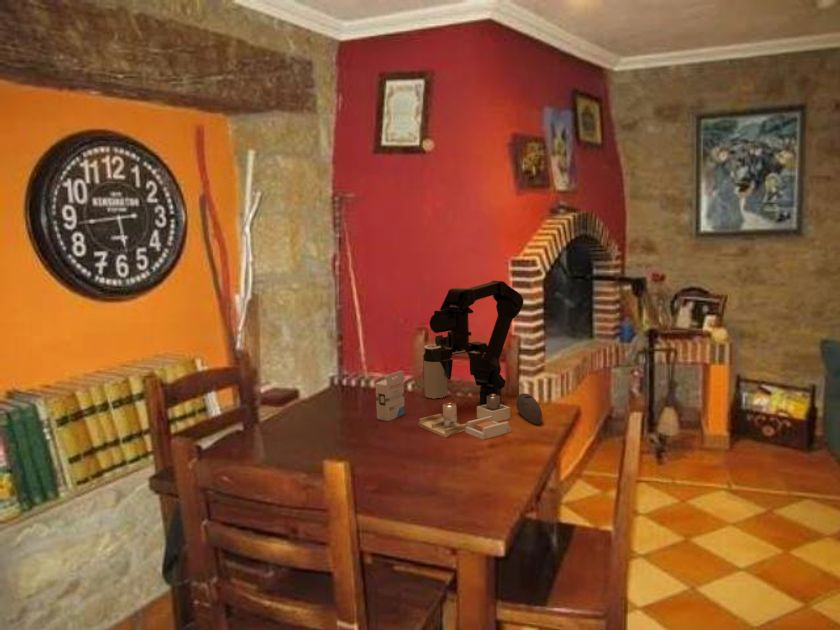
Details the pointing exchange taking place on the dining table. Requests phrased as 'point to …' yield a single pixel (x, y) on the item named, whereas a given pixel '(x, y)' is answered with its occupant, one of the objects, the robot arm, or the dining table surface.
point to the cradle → (487, 428)
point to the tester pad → (483, 425)
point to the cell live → (449, 415)
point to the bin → (494, 413)
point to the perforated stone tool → (529, 408)
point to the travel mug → (434, 375)
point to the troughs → (439, 426)
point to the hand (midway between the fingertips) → (460, 377)
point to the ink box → (390, 397)
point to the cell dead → (493, 402)
